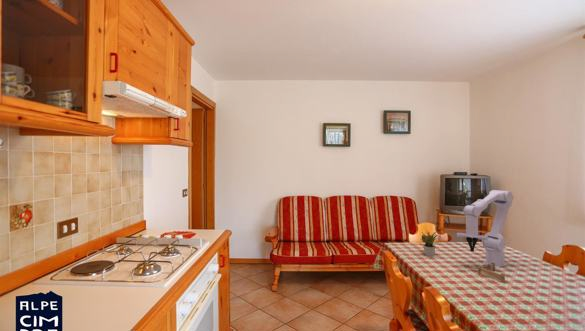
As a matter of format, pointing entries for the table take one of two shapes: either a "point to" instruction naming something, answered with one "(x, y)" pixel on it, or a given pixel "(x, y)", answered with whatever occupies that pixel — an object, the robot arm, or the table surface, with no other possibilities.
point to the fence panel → (489, 267)
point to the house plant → (429, 244)
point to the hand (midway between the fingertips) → (472, 251)
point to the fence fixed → (491, 274)
